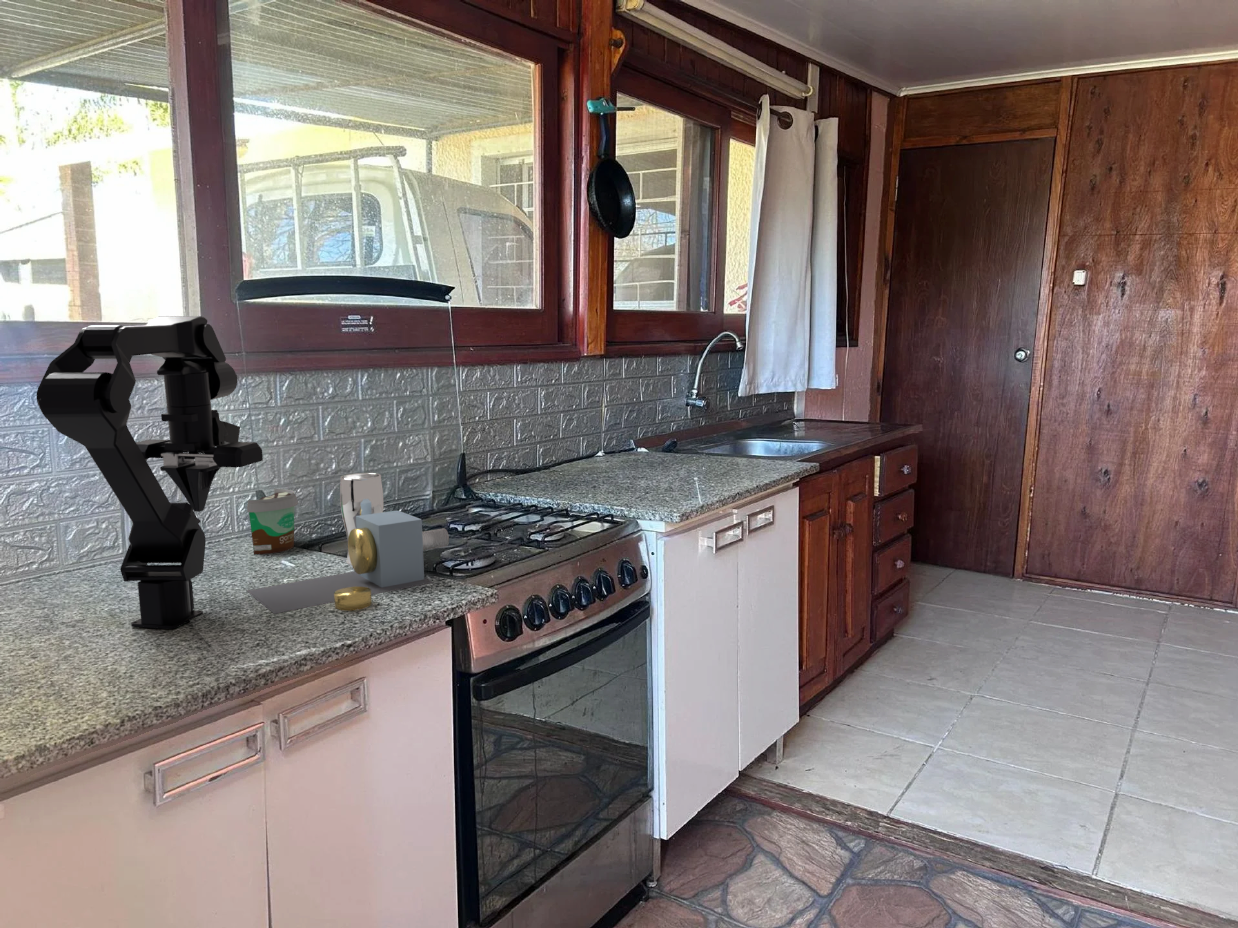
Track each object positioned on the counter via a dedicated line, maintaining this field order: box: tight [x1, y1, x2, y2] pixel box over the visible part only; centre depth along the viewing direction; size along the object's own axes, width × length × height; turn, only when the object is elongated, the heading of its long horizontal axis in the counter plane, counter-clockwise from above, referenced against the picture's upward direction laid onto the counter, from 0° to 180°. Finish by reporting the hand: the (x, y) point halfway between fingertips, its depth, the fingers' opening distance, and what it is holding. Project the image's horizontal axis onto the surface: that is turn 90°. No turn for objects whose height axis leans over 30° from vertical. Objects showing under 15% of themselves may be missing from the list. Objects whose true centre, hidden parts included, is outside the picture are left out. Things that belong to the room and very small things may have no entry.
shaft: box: [347, 527, 450, 574], centre depth 138 cm, size 15×7×7 cm, turn 128°
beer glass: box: [339, 472, 384, 566], centre depth 147 cm, size 7×7×15 cm
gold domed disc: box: [334, 587, 373, 612], centre depth 123 cm, size 5×5×2 cm
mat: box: [246, 570, 434, 615], centre depth 133 cm, size 24×14×1 cm, turn 128°
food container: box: [246, 488, 299, 556], centre depth 158 cm, size 12×6×10 cm, turn 179°
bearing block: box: [356, 510, 425, 587], centre depth 137 cm, size 7×9×10 cm
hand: (199, 511), depth 127 cm, fingers closed
